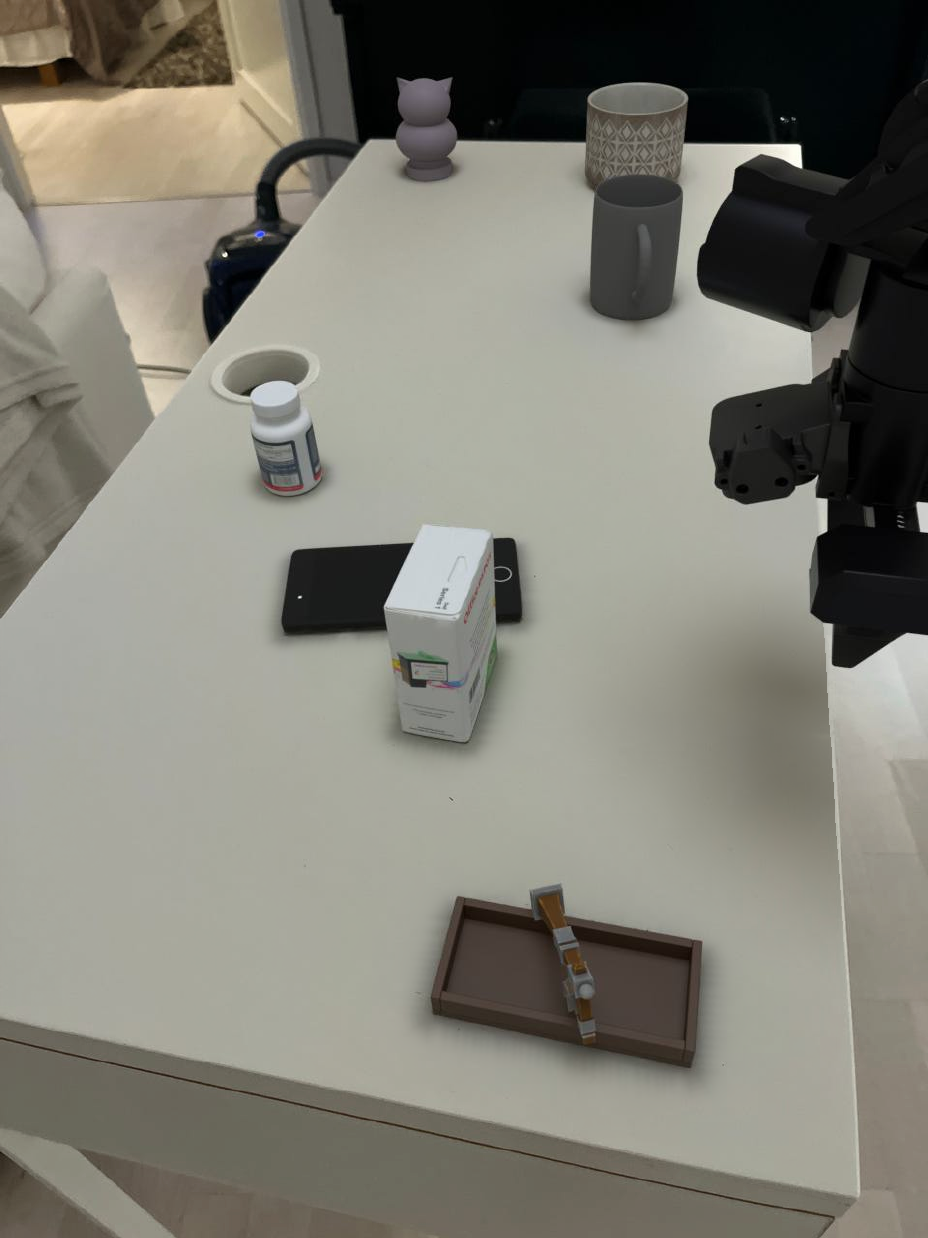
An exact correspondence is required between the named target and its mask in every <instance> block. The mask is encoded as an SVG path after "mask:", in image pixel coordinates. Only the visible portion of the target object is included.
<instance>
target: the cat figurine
mask: <svg viewBox="0 0 928 1238" xmlns="http://www.w3.org/2000/svg"><path fill="white" fill-rule="evenodd" d="M396 81H397V86H398V91H399V96H398V100H397V108H398V112H399V115H400V116H401V118H402V121H401V123H399V125H398V127H397V130H396V134H395V143H396V146H397V148H398V149H399V151H400V152H401V154H402V155H403V156H404V157H405V158H407V159H409V160H407V161H406V174H407V176H408V177H409V178H410V179H411V180H415V181H420V182H421V181H422V182H432V181H439V180H442V179H445V178H447V177H449V176H450V175H451V174H453V161H452V158H451V157H449V155H451V154H452V152H453V151H454V150H455V148H456V146H457V142H458V131H457V129H456V127H455V125H454V124H453V122H451V121H450V119H449V118H447V117H448V116H449V114H450V110H451V106H452V105H451V97H450V91H451V86H452V81H453V76H452V77H448V78H445V79H440V80H434V79H431V78H426V77H425V78H424V77H423V78H416V79H414V80H411V81H410V80H407V79H404V78H400V77H396Z"/></svg>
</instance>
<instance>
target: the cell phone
mask: <svg viewBox="0 0 928 1238" xmlns="http://www.w3.org/2000/svg"><path fill="white" fill-rule="evenodd" d="M413 544H414V542H403V543H401V542H399V543H384V544H382V543H381V544H365V545H347V546H344V545H343V546H330V547H329V546H328V547H327V546H326V547H310V548H299V549H298V548H297V549H295V550H293V551H292V553H291V555H290V559H289V566H288V573H287V579H286V585H285V592H284V598H283V603H282V605H283V606H282V610H281V611H282V612H281V619H280V621H281V622H280V623H281V626H282V630H283V632H284V633H286V634H292V633H304V632H307V633H308V632H324V631H325V632H326V631H340V630H341V631H342V630H358V629H359V630H360V629H379V628H380V629H381V628H387V625H386V619H385V612H384V605H385V603H386V601H387V599H388V597H389V594H390V592H391V590H392V588H393V586H394V584H395V582H396V579H397V577H398V575H399V573H400V571H401V569H402V567H403V565H404V562H405V560H406V558H407V556H408V554H409V552H410V550H411V548H412V546H413ZM493 553H494V582H495V613H496V622H505V621H506V622H507V621H509V622H510V621H511V622H517V621H520V620H521V619H522V618H523V601H522V591H521V590H522V589H521V583H520V582H521V580H520V569H519V561H518V560H519V559H518V551H517V543H516V540H515V539H514V538H512V537H493Z"/></svg>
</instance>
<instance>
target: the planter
mask: <svg viewBox="0 0 928 1238" xmlns="http://www.w3.org/2000/svg"><path fill="white" fill-rule="evenodd" d="M586 103H587V105H586V106H587V107H586V132H585V133H586V134H585V156H584V157H585V158H584V159H585V161H584V175H585V178H586V179H587V180H588V181H589V182H590V183H591V184H593V185H595V186H596V187H597V186H598V185H599V184H600V183H602V182H603V181H605V180H607V179H610V178H613V177H617V176H622V175H631V174H647V175H656V176H661V177H665V178H668V179H671V180H673V181H675V182H677V180H678V179H679V177H680V174H681V173H682V172H681V171H682V161H683V151H684V143H685V132H686V123H687V112H688V105H689V104H688V103H689V96H688V93H686V92H685V91H684V90H682V89H680V88H678V87H675V86H672V85H668V84H663V83H658V82H657V83H656V82H623V83H615V84H611V85H607V86H603V87H600V88H598V89H596V90H593V91H592V92H591V93H590V94H589V95H588V96H587V102H586Z"/></svg>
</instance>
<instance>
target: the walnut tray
mask: <svg viewBox="0 0 928 1238" xmlns="http://www.w3.org/2000/svg"><path fill="white" fill-rule="evenodd" d="M564 918H565V921H566V924H567V926H571V930H572V932H573V935H574V937H575V938H576V939H577V942H578V944H579V947H580V956H581V959H582V961H586V965H587V968H588V970H589V972H590V975H591V976H592V977H593V983H594V990H595V994H593V996H592V997H591V998H590V1002H591V1010H592V1015H593V1017H594V1020H595V1028H596V1031H594V1032H595V1040H596V1042H592V1043H588V1044H583V1041H582V1039H581V1033H580V1029H579V1026H578V1021H577V1014H576V1013H575V1011H571V1012H569V1011H568V1003H567V998H566V997H564V990H563V982H564V981H565V980H566V979H567V978H569V975H568V969H567V967H566V965H563V964H562V963H561V959H560V956H559V952H558V950H557V947H556V946H555V945H554V936H553V934H552V932H551V931H550V929H549V927H548V926H547V924H546V923H545V921H544V920H543V919H540V920H535V918H534V917H533V915H532V908H525V907H519V906H514V905H509V904H503V903H498V902H493V901H488V900H483V899H482V900H481V899H476V898H472V897H471V898H470V897H465V896H460V895H457V896H456V898H455V901H454V906H453V910H452V913H451V917H450V921H449V924H448V928H447V932H446V936H445V940H444V943H443V949H442V951H441V956H440V960H439V963H438V967H437V971H436V975H435V979H434V982H433V986H432V990H431V993H430V1002H431V1003H430V1004H431V1008H432V1014H433V1015H436V1016H437V1015H438V1016H443V1017H446V1018H447V1017H448V1018H452V1019H457V1020H461V1021H466V1022H472V1023H475V1024H480V1025H485V1026H489V1027H495V1028H500V1029H503V1030H510V1031H512V1032H518V1033H523V1034H528V1035H532V1036H536V1037H537V1036H538V1037H542V1038H545V1039H546V1038H547V1039H551V1040H557V1041H561V1042H566V1043H571V1044H576V1045H580V1046H586V1047H590V1048H595V1049H598V1050H603V1051H609V1052H614V1053H619V1054H624V1055H627V1056H633V1057H638V1058H643V1059H647V1060H652V1061H656V1062H660V1063H666V1064H669V1065H674V1066H675V1065H676V1066H680V1067H684V1068H689V1069H690V1068H691V1067H692V1064H693V1061H694V1058H695V1055H696V1047H697V1046H696V1045H697V1031H698V1015H699V1014H698V1013H699V1000H700V985H701V984H700V983H701V969H702V954H703V940H699V939H693V938H688V937H683V936H677V935H671V934H665V933H662V932H661V933H660V932H655V931H650V930H645V929H638V928H633V927H628V926H624V925H623V926H622V925H618V924H611V923H607V922H602V921H596V920H590V919H585V918H579V917H574V916H569V915H564Z"/></svg>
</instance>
